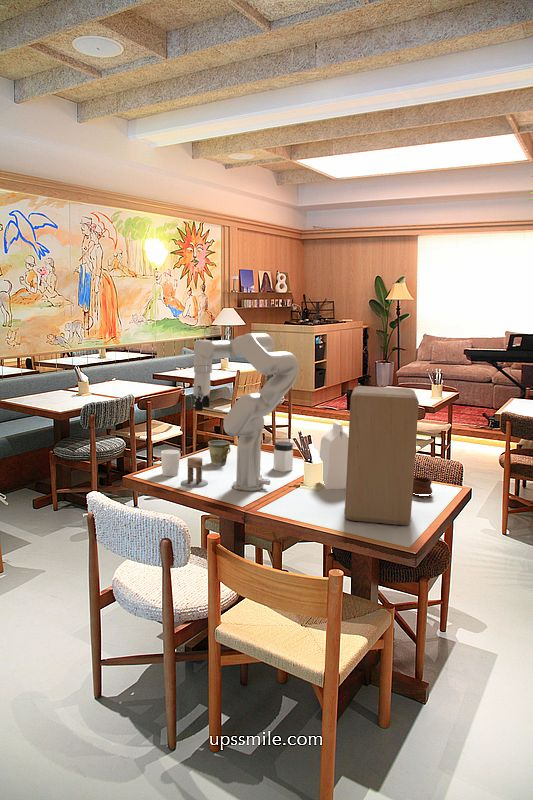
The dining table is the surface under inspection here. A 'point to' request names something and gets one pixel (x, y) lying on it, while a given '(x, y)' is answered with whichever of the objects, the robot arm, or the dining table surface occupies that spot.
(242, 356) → the robot arm
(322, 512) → the dining table surface
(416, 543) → the dining table surface
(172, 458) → the white cup
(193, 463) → the stool mini
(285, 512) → the dining table surface
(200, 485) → the felt mat
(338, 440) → the milk
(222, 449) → the ceramic cup
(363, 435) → the block
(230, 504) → the dining table surface
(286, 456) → the jar
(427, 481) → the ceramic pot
